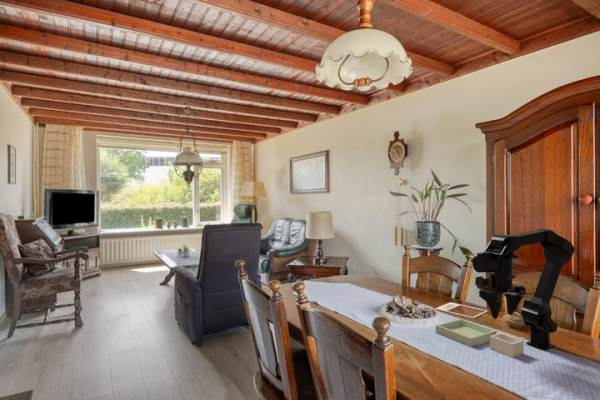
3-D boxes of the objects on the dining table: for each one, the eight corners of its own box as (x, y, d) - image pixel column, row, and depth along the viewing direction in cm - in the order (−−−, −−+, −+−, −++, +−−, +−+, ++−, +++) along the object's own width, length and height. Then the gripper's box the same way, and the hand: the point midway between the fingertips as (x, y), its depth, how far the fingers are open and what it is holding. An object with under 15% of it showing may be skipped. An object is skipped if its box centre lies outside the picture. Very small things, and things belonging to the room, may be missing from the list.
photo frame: (450, 301, 175) (487, 310, 161) (450, 304, 175) (487, 312, 161) (435, 307, 166) (473, 317, 152) (435, 310, 166) (473, 319, 152)
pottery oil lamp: (526, 320, 147) (532, 308, 144) (522, 338, 139) (529, 326, 135) (504, 310, 152) (509, 298, 148) (498, 327, 143) (504, 314, 140)
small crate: (500, 345, 124) (500, 332, 124) (523, 353, 117) (523, 340, 117) (490, 348, 121) (489, 336, 121) (513, 357, 114) (512, 344, 114)
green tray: (460, 325, 144) (460, 318, 144) (496, 338, 130) (496, 330, 130) (435, 332, 137) (435, 325, 137) (471, 347, 123) (471, 338, 123)
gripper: (495, 265, 131) (495, 306, 131) (464, 269, 122) (464, 314, 121) (526, 270, 121) (526, 315, 121) (496, 275, 112) (495, 323, 112)
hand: (502, 316), depth 119 cm, fingers open, 9 cm apart
